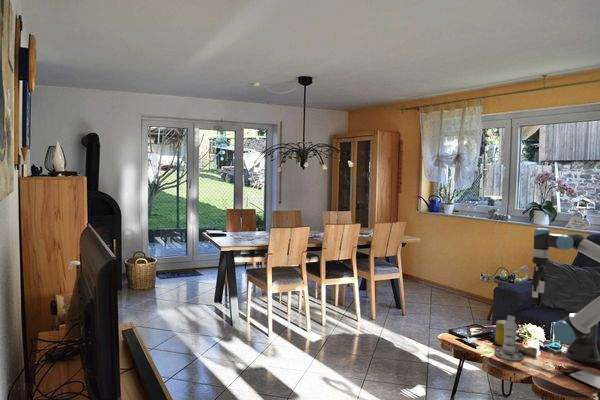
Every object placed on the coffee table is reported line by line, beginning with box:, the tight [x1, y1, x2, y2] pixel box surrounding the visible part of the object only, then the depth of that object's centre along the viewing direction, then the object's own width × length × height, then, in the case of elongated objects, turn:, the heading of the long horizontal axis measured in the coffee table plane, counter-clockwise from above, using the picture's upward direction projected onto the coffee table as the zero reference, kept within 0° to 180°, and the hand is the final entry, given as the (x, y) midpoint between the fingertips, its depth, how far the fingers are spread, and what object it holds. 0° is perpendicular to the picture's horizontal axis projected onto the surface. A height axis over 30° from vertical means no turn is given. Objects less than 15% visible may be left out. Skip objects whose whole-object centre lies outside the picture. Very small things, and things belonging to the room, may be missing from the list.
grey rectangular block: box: [515, 343, 538, 358], centre depth 252 cm, size 10×4×4 cm, turn 50°
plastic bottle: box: [501, 315, 518, 354], centre depth 249 cm, size 6×7×20 cm
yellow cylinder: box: [494, 319, 507, 347], centre depth 268 cm, size 9×9×12 cm
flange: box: [493, 348, 524, 362], centre depth 249 cm, size 14×14×2 cm
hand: (538, 294), depth 257 cm, fingers open, 13 cm apart
